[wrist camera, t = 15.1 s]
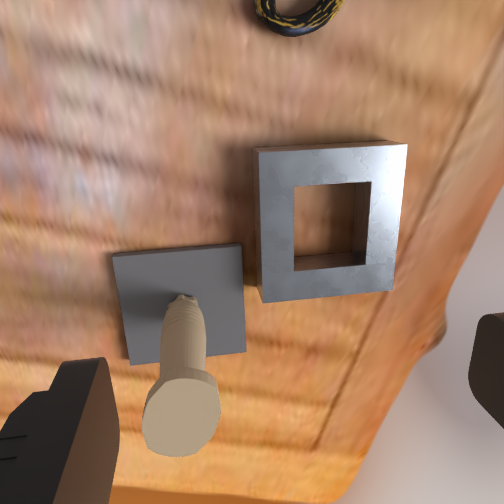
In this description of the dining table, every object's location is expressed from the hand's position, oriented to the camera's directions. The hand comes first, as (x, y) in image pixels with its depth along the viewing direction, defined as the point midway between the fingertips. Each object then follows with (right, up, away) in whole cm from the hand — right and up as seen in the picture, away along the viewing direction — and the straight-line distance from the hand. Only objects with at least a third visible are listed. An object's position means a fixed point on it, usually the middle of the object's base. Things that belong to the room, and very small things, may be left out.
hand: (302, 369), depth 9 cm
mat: (-8, -3, +32) cm, 33 cm away
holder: (+6, +6, +31) cm, 32 cm away
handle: (-8, -3, +32) cm, 33 cm away
